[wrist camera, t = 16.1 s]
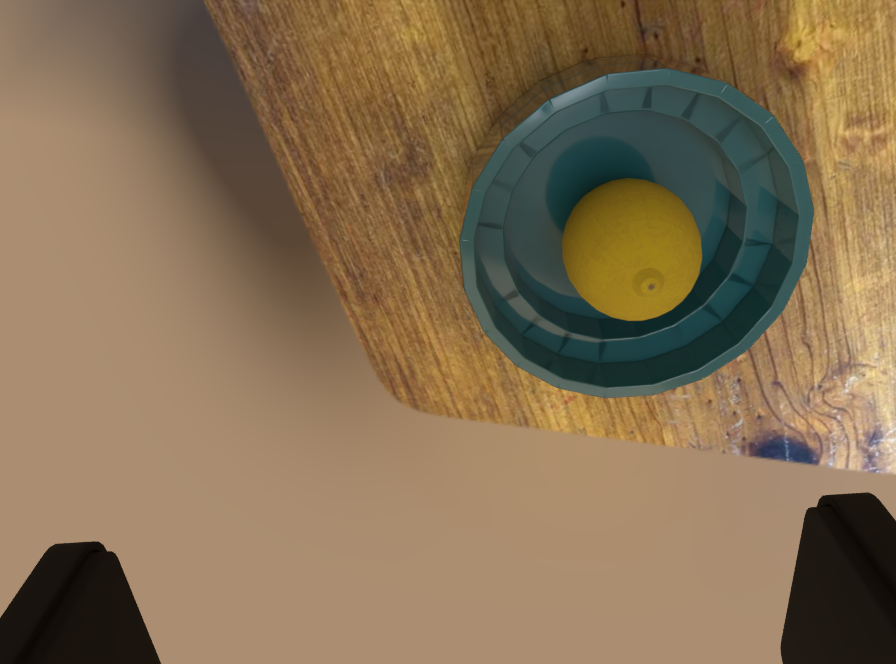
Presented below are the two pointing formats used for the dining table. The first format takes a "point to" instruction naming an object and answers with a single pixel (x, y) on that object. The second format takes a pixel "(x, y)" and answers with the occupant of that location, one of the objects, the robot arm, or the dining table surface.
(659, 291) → the lemon
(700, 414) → the dining table surface
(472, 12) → the dining table surface
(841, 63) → the dining table surface
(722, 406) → the dining table surface
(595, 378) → the bowl
